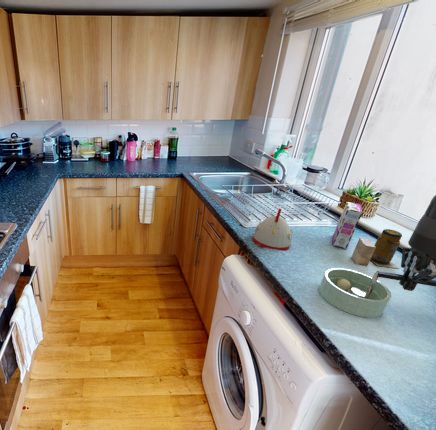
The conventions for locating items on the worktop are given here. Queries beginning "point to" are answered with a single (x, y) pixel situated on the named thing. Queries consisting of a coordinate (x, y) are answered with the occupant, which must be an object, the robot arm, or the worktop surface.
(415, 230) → the robot arm
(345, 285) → the dumpling
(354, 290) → the ladle
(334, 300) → the bowl
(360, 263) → the brown wooden block
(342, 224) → the candy bar box
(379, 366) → the worktop surface
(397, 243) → the condiment
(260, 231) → the cream dome hat
